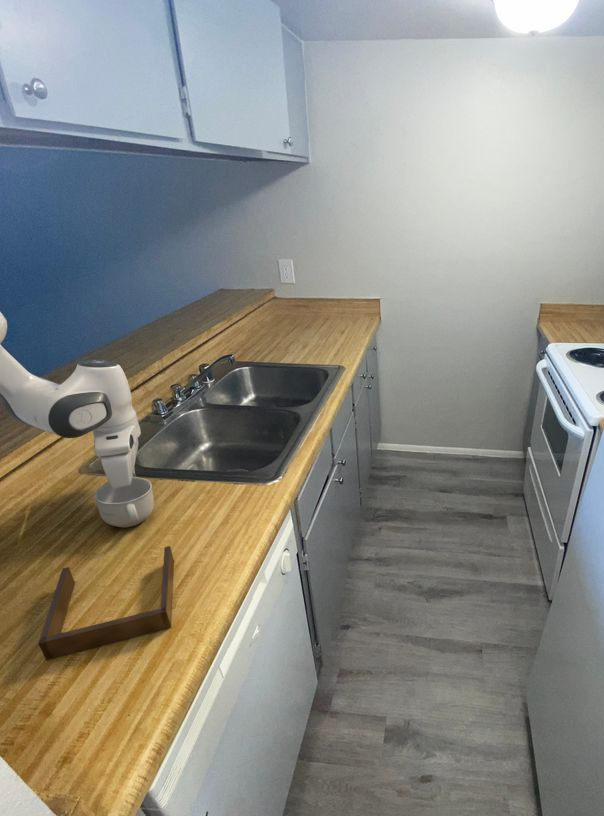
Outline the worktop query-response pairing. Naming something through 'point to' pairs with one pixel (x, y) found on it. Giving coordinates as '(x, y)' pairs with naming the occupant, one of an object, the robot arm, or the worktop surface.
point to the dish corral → (106, 632)
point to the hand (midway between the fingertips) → (131, 481)
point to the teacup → (125, 503)
